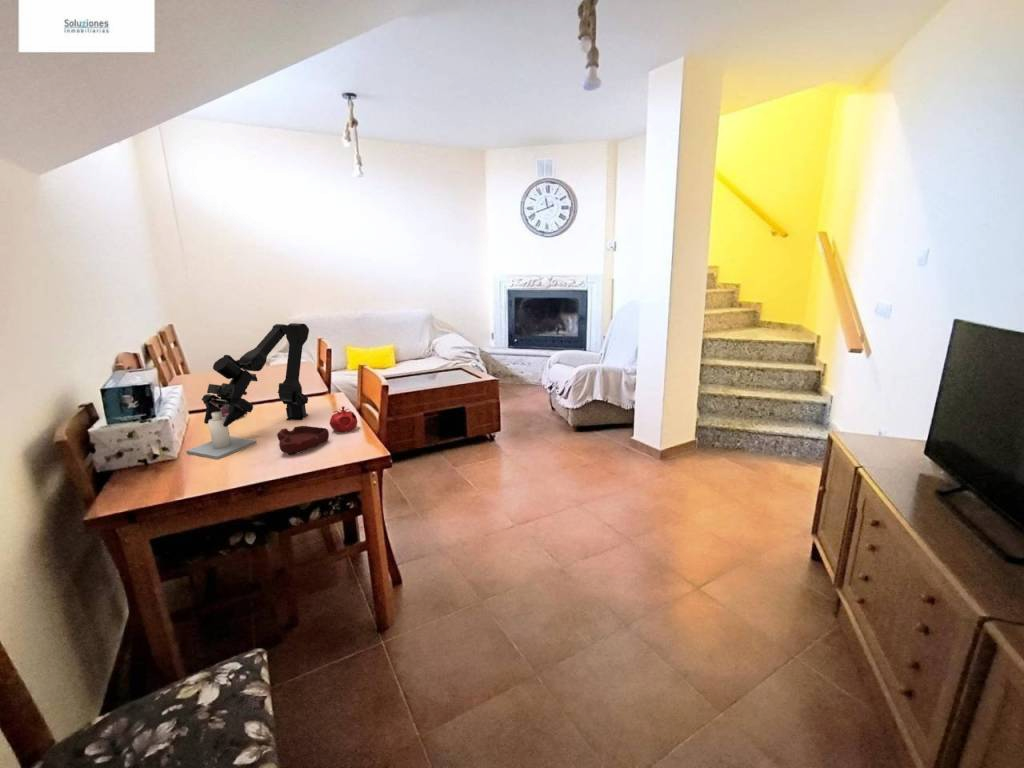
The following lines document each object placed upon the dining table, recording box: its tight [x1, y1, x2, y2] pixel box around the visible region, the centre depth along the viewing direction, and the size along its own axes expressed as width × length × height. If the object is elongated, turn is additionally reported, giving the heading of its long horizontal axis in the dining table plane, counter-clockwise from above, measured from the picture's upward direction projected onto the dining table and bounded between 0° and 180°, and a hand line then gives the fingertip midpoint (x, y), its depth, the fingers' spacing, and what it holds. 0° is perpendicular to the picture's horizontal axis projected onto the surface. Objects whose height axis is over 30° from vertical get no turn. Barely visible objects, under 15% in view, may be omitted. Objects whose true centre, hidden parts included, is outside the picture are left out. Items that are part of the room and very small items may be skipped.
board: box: [185, 435, 257, 460], centre depth 164 cm, size 15×15×1 cm
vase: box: [208, 412, 231, 448], centre depth 162 cm, size 5×5×12 cm
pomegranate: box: [329, 406, 358, 433], centre depth 179 cm, size 10×10×9 cm
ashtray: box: [276, 425, 330, 456], centre depth 165 cm, size 18×16×5 cm
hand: (214, 424), depth 161 cm, fingers open, 9 cm apart
